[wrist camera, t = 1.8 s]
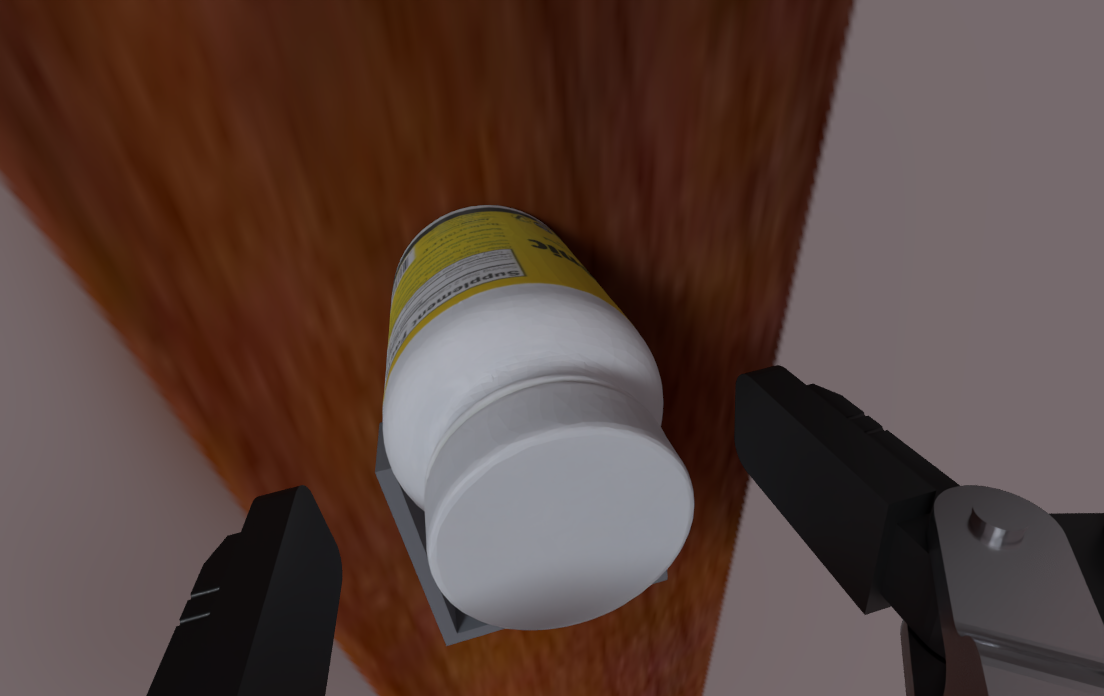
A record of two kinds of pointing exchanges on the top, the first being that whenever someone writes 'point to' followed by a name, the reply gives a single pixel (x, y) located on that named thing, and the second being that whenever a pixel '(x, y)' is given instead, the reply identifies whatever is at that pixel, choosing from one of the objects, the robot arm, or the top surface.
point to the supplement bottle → (527, 426)
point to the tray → (414, 536)
